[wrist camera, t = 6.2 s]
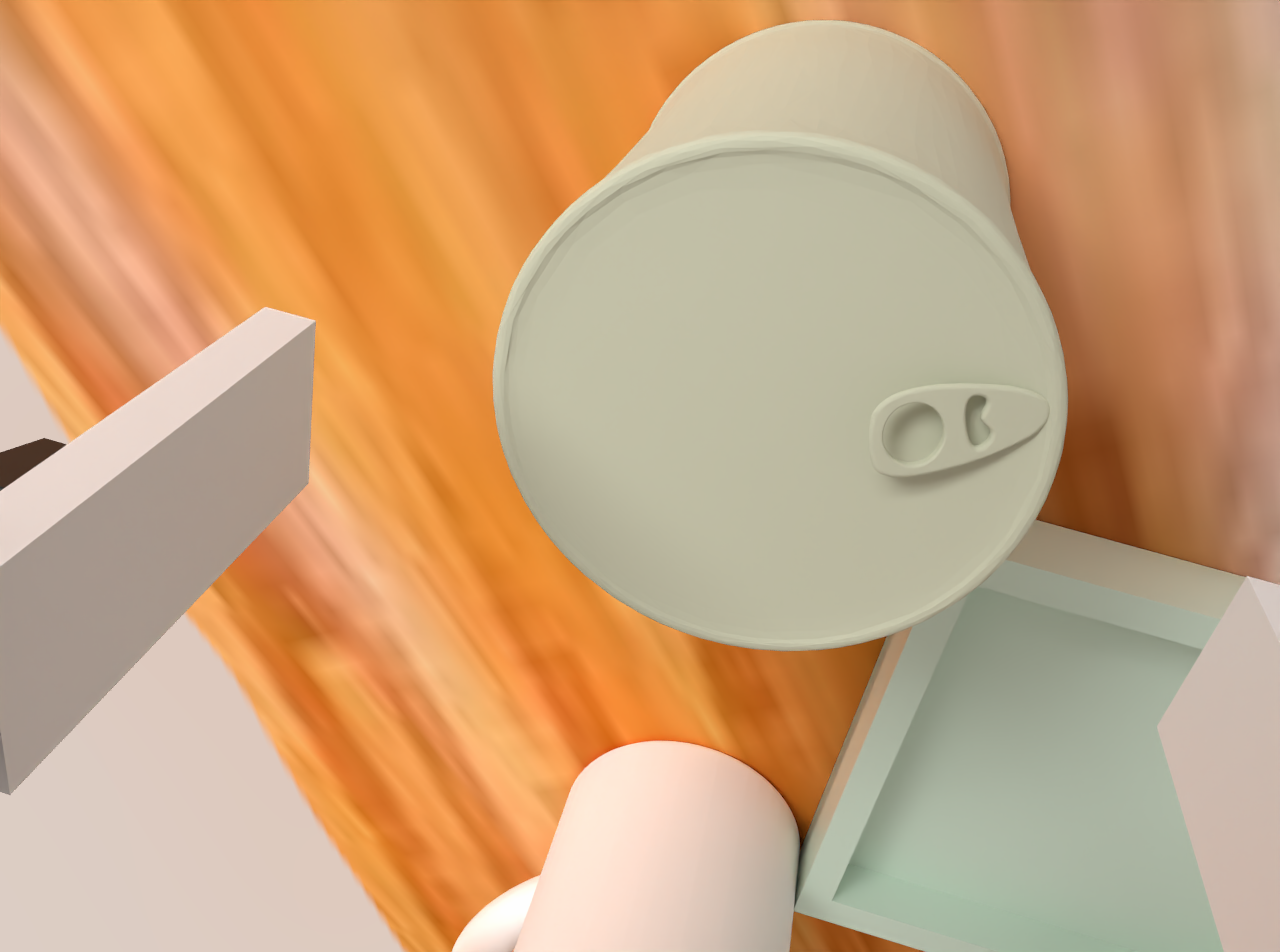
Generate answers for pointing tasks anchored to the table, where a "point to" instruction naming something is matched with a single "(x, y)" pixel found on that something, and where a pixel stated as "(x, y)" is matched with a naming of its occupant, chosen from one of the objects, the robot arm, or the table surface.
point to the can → (789, 351)
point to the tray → (1025, 764)
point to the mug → (656, 862)
